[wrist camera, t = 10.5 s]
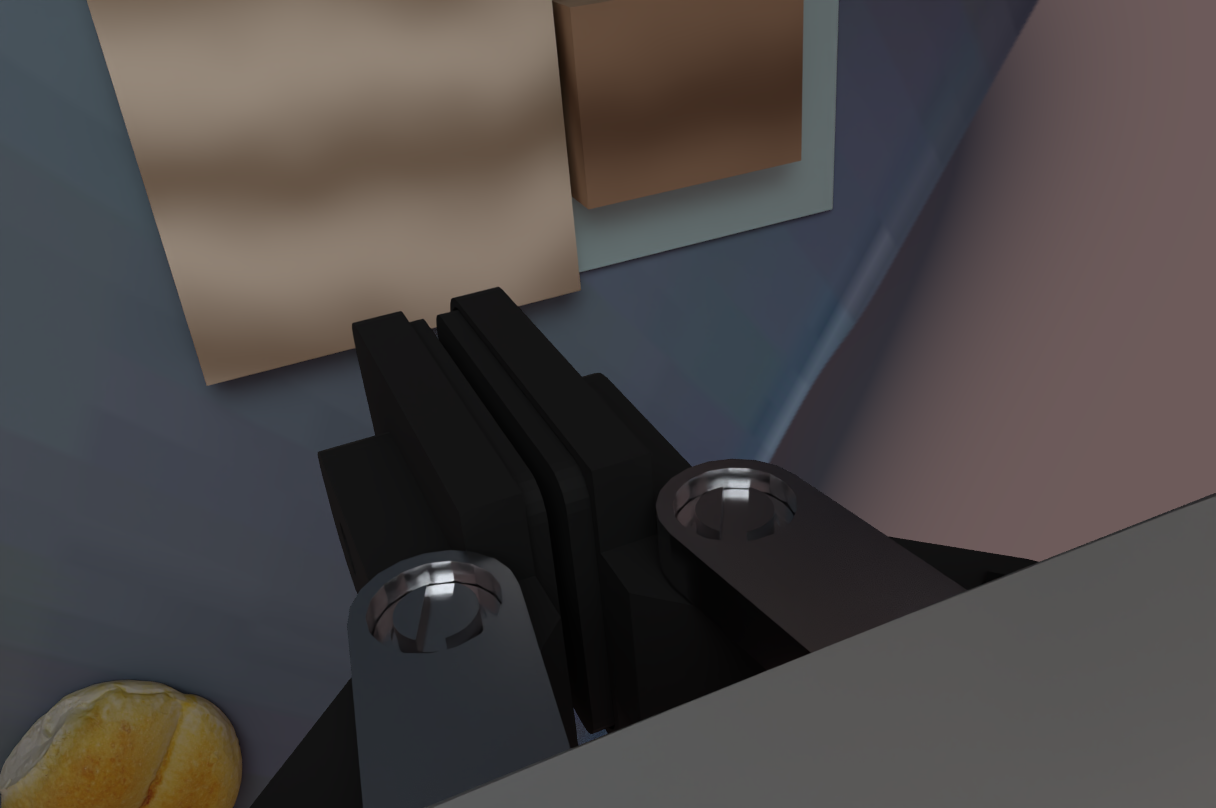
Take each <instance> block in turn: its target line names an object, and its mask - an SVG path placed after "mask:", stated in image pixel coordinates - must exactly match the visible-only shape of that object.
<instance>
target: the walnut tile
mask: <svg viewBox="0 0 1216 808" xmlns="http://www.w3.org/2000/svg"><path fill="white" fill-rule="evenodd" d="M552 8H553V18H554V27H555V37H556V47H557V57H558V67H559V77H560V87H561V97H562V107H563V117H564V127H565V137H566V147H567V157H568V166H569V176H570V186H571V196H572V197H573V198H574V199H575V200H577V201H578V202H579V203H581V204H582V205H583V206H585V207H586V208H587V209H593V208H597V207H602V206H606V205H610V204H615V203H619V202H623V201H628V200H632V199H636V198H641V197H645V196H649V195H654V194H658V193H663V192H667V191H671V190H676V189H680V188H684V187H689V186H693V185H697V184H702V183H706V182H710V181H715V180H719V179H723V178H728V177H732V176H736V175H741V174H745V173H749V172H754V171H758V170H763V169H767V168H771V167H776V166H780V165H784V164H789V163H793V162H797V161H801V149H802V79H803V10H804V0H552Z"/></svg>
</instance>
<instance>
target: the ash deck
mask: <svg viewBox="0 0 1216 808" xmlns="http://www.w3.org/2000/svg"><path fill="white" fill-rule="evenodd" d="M87 2H88V6H89V9H90V12H91V15H92V18H93V22H94V25H95V28H96V31H97V34H98V38H99V41H100V44H101V47H102V51H103V54H104V57H105V60H106V63H107V67H108V70H109V73H110V76H111V79H112V83H113V86H114V89H115V92H116V95H117V99H118V102H119V105H120V108H121V111H122V115H123V118H124V121H125V124H126V127H127V131H128V134H129V137H130V140H131V144H132V147H133V150H134V153H135V156H136V160H137V163H138V166H139V169H140V172H141V176H142V179H143V182H144V185H145V188H146V192H147V195H148V198H149V201H150V204H151V208H152V211H153V214H154V217H155V221H156V224H157V227H158V230H159V233H160V237H161V240H162V243H163V246H164V249H165V253H166V256H167V259H168V262H169V265H170V269H171V272H172V275H173V278H174V281H175V285H176V288H177V291H178V294H179V298H180V301H181V304H182V307H183V310H184V314H185V317H186V320H187V323H188V326H189V330H190V333H191V336H192V339H193V342H194V346H195V349H196V352H197V355H198V358H199V362H200V365H201V368H202V371H203V375H204V378H205V381H206V384H207V386H208V385H212V384H216V383H220V382H224V381H228V380H232V379H236V378H239V377H243V376H247V375H251V374H255V373H259V372H263V371H267V370H271V369H275V368H279V367H282V366H286V365H290V364H294V363H298V362H302V361H306V360H310V359H314V358H318V357H322V356H325V355H329V354H333V353H337V352H341V351H345V350H349V349H353V348H355V343H354V338H353V332H352V323H354V322H358V321H362V320H366V319H370V318H374V317H378V316H382V315H386V314H390V313H394V312H398V311H402V312H403V313H404V315H405V316H406V318H407V319H408V321H409V322H412V321H416V320H420V319H424V320H425V321H426V322H427V324H428V325H429V327H430V328H435V327H437V326H436V317H437V315H439V314H443V313H447V312H450V302H451V299H452V298H454V297H458V296H462V295H467V294H471V293H475V292H479V291H483V290H487V289H491V288H495V287H500V288H501V289H503V291H504V292H505V293H506V294H507V295H508V296H509V297H510V298H511V299H512V300H513V302H514V303H515V304H516V305H517V306H521V305H525V304H529V303H533V302H537V301H541V300H545V299H548V298H552V297H556V296H560V295H564V294H568V293H572V292H576V291H580V290H581V286H580V276H579V266H578V256H577V246H576V236H575V226H574V216H573V206H572V196H571V186H570V176H569V166H568V157H567V147H566V137H565V127H564V117H563V107H562V97H561V87H560V77H559V67H558V57H557V47H556V37H555V27H554V18H553V8H552V0H87Z"/></svg>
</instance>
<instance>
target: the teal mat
mask: <svg viewBox="0 0 1216 808" xmlns="http://www.w3.org/2000/svg"><path fill="white" fill-rule="evenodd" d="M838 7H839V0H804V10H803V79H802V149H801V161H797V162H793V163H789V164H784V165H780V166H776V167H771V168H767V169H763V170H758V171H754V172H749V173H745V174H741V175H736V176H732V177H728V178H723V179H719V180H715V181H710V182H706V183H702V184H697V185H693V186H689V187H684V188H680V189H676V190H671V191H667V192H663V193H658V194H654V195H649V196H645V197H641V198H636V199H632V200H628V201H623V202H619V203H615V204H610V205H606V206H602V207H597V208H593V209H587V208H586V207H585V206H583V205H582V204H581V203H579V202H578V201H577V200H575V199H574V198H573V197H572V206H573V216H574V226H575V236H576V246H577V256H578V266H579V272H583V271H587V270H591V269H595V268H599V267H603V266H607V265H611V264H615V263H619V262H623V261H627V260H631V259H635V258H639V257H643V256H647V255H651V254H655V253H659V252H663V251H667V250H671V249H675V248H679V247H683V246H687V245H691V244H695V243H699V242H703V241H707V240H711V239H715V238H719V237H723V236H727V235H731V234H735V233H739V232H743V231H747V230H751V229H755V228H759V227H763V226H767V225H771V224H775V223H779V222H783V221H787V220H791V219H795V218H799V217H803V216H807V215H811V214H815V213H819V212H823V211H827V210H831V209H833V177H834V143H835V109H836V75H837V41H838Z"/></svg>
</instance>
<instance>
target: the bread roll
mask: <svg viewBox="0 0 1216 808" xmlns="http://www.w3.org/2000/svg"><path fill="white" fill-rule="evenodd" d="M238 742H239V740H238V738H237V737H236V733H235V730H234V728H233V726H232V724H231V722H230V721H229V719H228V718H227V717H226V715H225V714H224V713H223V712H222V711H221V710H220V709H219V708H218V707H217V706H215V705H214V704H213V703H211V702H210V701H208V700H206V699H204V698H202V697H200V696H197V695H193V694H183V693H181V692H179V691H177V690H175V689H173V688H171V687H169V686H167V685H165V684H163V683H157V682H152V681H138V680H116V681H109V682H103V683H98V684H93V685H91V686H89V687H86V688H84V689H81V690H78V691H76V692H73V693H71V694H69V695H66V696H65V697H63V698H62V699H61V700H60V701H59V702H58V703H57V704H56V705H55V706H54V707H52V708H51V709H50V710H49V711H48V712H47V713H46V714H45V715H43V716H42V717H41V718H39V719H38V720H37V721H36V722H35V723H34V724H33V725H32V727H31V728H30V729H29V730H28V732H27V733H26V734H25V735H24V736H23V738H22V739H21V741H20V742H19V743H18V744H17V745H16V746H15V748H14V749H13V751H12V752H11V754H10V755H9V757H8V758H7V760H6V761H5V763H4V765H3V768H2V771H1V774H0V792H1V806H2V808H233V806H234V804H235V801H236V798H237V795H238V792H239V788H240V784H241V777H242V756H241V750H240V746H239V743H238Z"/></svg>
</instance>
